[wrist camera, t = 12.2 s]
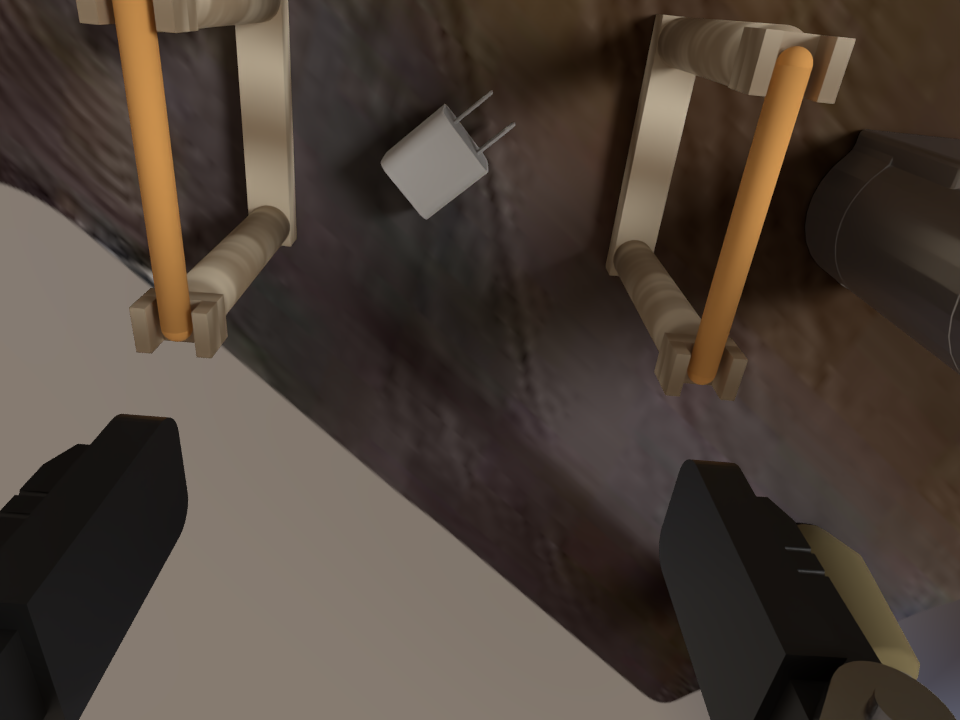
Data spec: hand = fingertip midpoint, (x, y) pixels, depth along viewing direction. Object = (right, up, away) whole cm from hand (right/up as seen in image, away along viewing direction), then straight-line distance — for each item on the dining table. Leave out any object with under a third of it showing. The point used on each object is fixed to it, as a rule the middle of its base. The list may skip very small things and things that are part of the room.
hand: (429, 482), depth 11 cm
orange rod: (-11, +9, +13) cm, 19 cm away
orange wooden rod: (+11, +7, +15) cm, 19 cm away
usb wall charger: (-1, +15, +28) cm, 32 cm away
